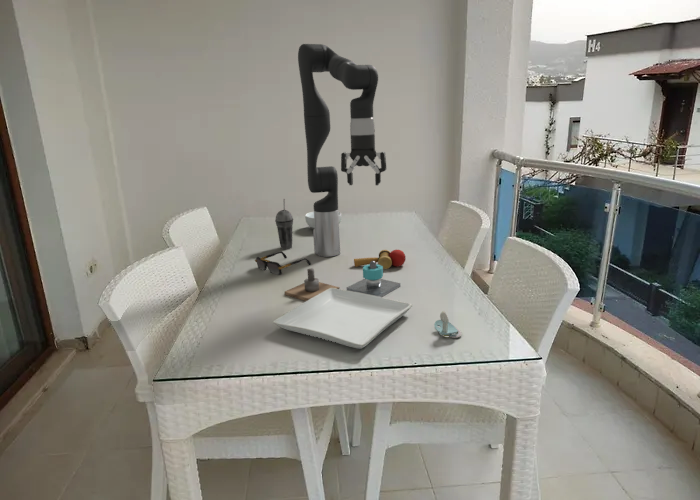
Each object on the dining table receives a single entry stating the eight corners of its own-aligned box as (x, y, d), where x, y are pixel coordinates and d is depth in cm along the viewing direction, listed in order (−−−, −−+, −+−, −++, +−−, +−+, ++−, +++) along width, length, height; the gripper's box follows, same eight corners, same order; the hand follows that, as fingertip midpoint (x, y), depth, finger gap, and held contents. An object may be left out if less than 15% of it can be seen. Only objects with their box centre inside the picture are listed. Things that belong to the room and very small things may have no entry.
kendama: (355, 274, 169) (407, 266, 167) (352, 256, 168) (404, 248, 166) (356, 271, 176) (406, 263, 174) (354, 253, 176) (403, 246, 174)
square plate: (363, 359, 112) (363, 344, 110) (272, 334, 126) (270, 320, 124) (413, 314, 133) (413, 301, 132) (331, 297, 147) (330, 285, 146)
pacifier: (453, 326, 125) (431, 329, 124) (455, 304, 123) (432, 306, 122) (466, 339, 118) (443, 342, 117) (467, 315, 117) (444, 318, 115)
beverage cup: (274, 249, 197) (269, 200, 191) (283, 244, 203) (279, 197, 197) (290, 251, 194) (286, 201, 188) (298, 245, 200) (295, 197, 194)
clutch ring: (361, 279, 149) (361, 270, 148) (365, 272, 154) (365, 263, 153) (380, 280, 147) (380, 270, 146) (383, 273, 153) (383, 264, 152)
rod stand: (284, 294, 150) (282, 271, 148) (311, 282, 159) (309, 260, 157) (313, 303, 143) (311, 279, 141) (339, 290, 152) (338, 267, 149)
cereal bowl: (341, 232, 217) (340, 217, 215) (304, 234, 218) (303, 218, 216) (342, 223, 234) (341, 209, 231) (307, 224, 234) (306, 210, 232)
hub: (346, 290, 151) (345, 263, 148) (369, 279, 160) (368, 252, 157) (378, 298, 144) (377, 270, 141) (400, 286, 153) (400, 258, 150)
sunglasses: (311, 266, 176) (310, 252, 175) (278, 277, 166) (277, 263, 164) (286, 258, 186) (285, 246, 184) (253, 269, 175) (252, 256, 174)
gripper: (337, 134, 150) (339, 187, 155) (383, 133, 147) (384, 187, 151) (343, 132, 157) (345, 183, 162) (387, 131, 154) (388, 183, 158)
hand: (364, 185), depth 157 cm, fingers open, 8 cm apart
